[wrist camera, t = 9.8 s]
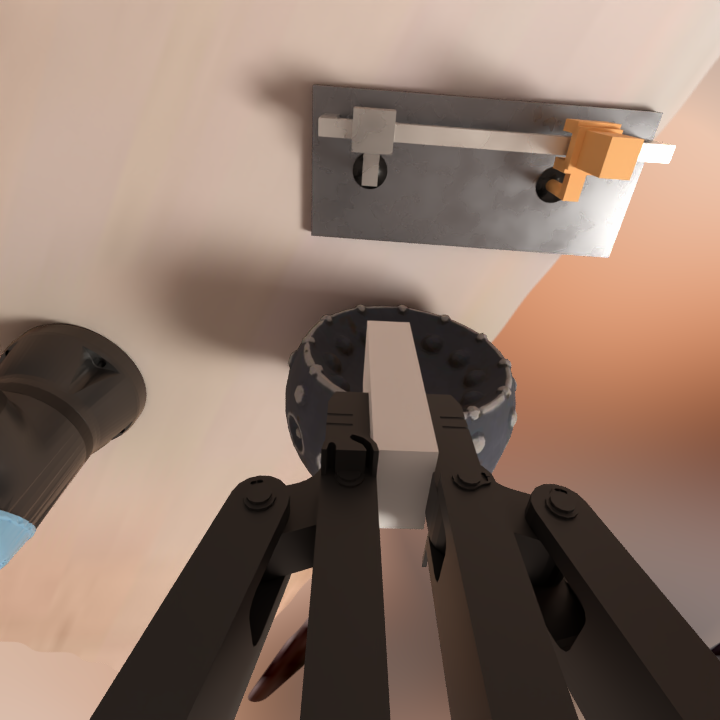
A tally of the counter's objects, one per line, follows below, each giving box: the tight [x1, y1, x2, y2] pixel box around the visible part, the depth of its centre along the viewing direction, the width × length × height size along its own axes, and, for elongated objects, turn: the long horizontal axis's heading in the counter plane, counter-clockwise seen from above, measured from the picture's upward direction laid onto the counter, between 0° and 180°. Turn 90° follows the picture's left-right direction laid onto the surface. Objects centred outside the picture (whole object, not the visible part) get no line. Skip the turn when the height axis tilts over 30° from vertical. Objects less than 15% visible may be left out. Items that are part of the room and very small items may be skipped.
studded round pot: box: [286, 305, 517, 476], centre depth 40 cm, size 11×20×20 cm, turn 83°
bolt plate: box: [311, 85, 663, 258], centre depth 39 cm, size 28×12×1 cm, turn 86°
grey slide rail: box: [318, 106, 676, 187], centre depth 36 cm, size 26×5×7 cm, turn 86°
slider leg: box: [546, 119, 645, 202], centre depth 33 cm, size 3×6×10 cm, turn 176°
